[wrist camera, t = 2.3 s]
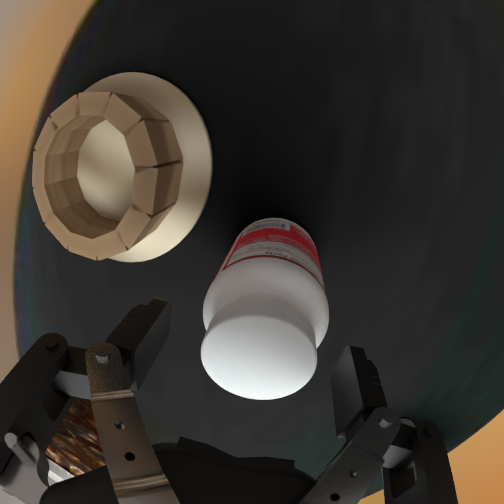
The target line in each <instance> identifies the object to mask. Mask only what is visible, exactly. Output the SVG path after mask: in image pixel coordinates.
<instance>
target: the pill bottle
mask: <svg viewBox="0 0 504 504" xmlns="http://www.w3.org/2000/svg"><path fill="white" fill-rule="evenodd" d="M203 319H204V324H205V328H206V334H205V337H204V339H203V342H202V346H201V359H202V363H203V365H204V368H205V370H206V372H207V373H208V374H209V376H210V377H211V378H212V379H213V380H214V381H215V382H216V383H217V384H218V385H219V386H221V387H222V388H224V389H225V390H227V391H229V392H231V393H233V394H236V395H239V396H242V397H246V398H251V399H259V400H265V399H276V398H281V397H284V396H287V395H290V394H292V393H294V392H296V391H297V390H299V389H300V388H302V387H303V386H304V385H305V384H306V383H307V382H308V381H309V380H310V379H311V377H312V375H313V374H314V371H315V369H316V365H317V347H318V346H319V345H320V343H321V342H322V340H323V338H324V336H325V334H326V331H327V328H328V322H329V309H328V301H327V296H326V291H325V286H324V282H323V277H322V272H321V267H320V263H319V258H318V254H317V250H316V247H315V244H314V242H313V240H312V239H311V237H310V235H309V234H308V233H307V232H306V231H305V230H304V229H303V228H302V227H300V226H299V225H297V224H296V223H294V222H291V221H289V220H286V219H281V218H266V219H262V220H259V221H256V222H254V223H252V224H250V225H249V226H247V227H246V228H245V229H244V230H243V231H242V232H241V233H240V234H239V236H238V237H237V238H236V240H235V242H234V243H233V245H232V247H231V249H230V251H229V253H228V255H227V256H226V258H225V260H224V262H223V264H222V266H221V267H220V269H219V271H218V273H217V274H216V276H215V278H214V280H213V281H212V283H211V285H210V287H209V290H208V292H207V295H206V297H205V301H204V306H203Z"/></svg>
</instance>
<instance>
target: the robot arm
mask: <svg viewBox="0 0 504 504" xmlns="http://www.w3.org/2000/svg"><path fill="white" fill-rule="evenodd" d="M170 314H171V302H170V301H167V300H163V299H160V298H157V297H154V298H153V299H152V300H151V302H150V303H149V304H148V306H146V305H143V304H140V305H138V306H136V307H135V308H133V309H131V311H130V312H129V313H128V314H127V315H126V317H125V318H124V319H123V320H122V322H121V323H120V324H119V325H118V326H117V327H116V329H115V330H114V331H113V332H112V333H111V335H110V336H109V337H108V338H107V340H106V341H105V342H97V343H94V344H92V345H90V346H89V347H88V348H87V349H83V348H77V347H71V346H68V344H67V340H66V339H65V338H64V337H63V336H62V335H60V334H57V333H48V334H45V335H43V336H41V337H40V338H39V339H38V340H37V341H36V342H35V343H34V344H33V346H32V347H31V348H30V349H29V350H28V351H27V352H26V354H25V355H24V356H23V357H22V358H21V359H20V360H19V362H18V363H17V364H16V365H15V366H14V368H13V369H12V370H11V371H10V372H9V374H8V375H7V376H6V377H5V379H4V380H3V381H2V382H1V384H0V488H1V489H2V490H3V491H5V492H6V493H8V494H10V495H12V496H15V497H17V498H18V499H19V500H21V501H22V502H24V503H25V504H357V503H358V502H359V501H360V499H361V498H362V496H363V495H364V494H365V492H366V491H367V489H368V488H369V486H370V485H371V483H372V482H373V480H374V479H375V477H376V476H377V474H378V473H379V471H380V469H381V468H382V471H383V483H384V497H385V504H458V501H457V495H456V490H455V485H454V481H453V476H452V472H451V467H450V463H449V459H448V455H447V451H446V448H445V444H444V440H443V437H442V433H441V431H440V429H439V428H438V426H437V425H435V424H434V423H432V422H430V421H422V422H421V423H419V424H418V425H417V426H416V427H413V426H410V425H406V424H403V423H401V421H400V418H399V416H398V415H397V413H396V412H395V411H393V410H391V409H389V408H388V407H387V403H386V399H385V396H384V392H383V389H382V385H381V382H380V378H379V375H378V372H377V368H376V367H375V366H374V364H373V363H372V362H371V360H367V359H366V356H365V352H364V349H363V348H360V347H354V346H346V347H345V349H344V350H343V352H342V354H341V356H340V358H339V360H338V362H337V363H336V365H335V367H334V369H333V371H332V375H331V386H332V395H333V404H334V414H335V424H336V435H337V437H338V438H346V443H345V444H344V445H343V446H342V448H341V449H340V450H339V451H338V452H337V454H336V455H335V456H334V457H333V458H332V460H331V461H330V462H329V463H328V464H327V465H326V466H325V467H324V469H323V470H322V471H321V472H320V473H319V474H318V475H317V476H316V477H315V478H314V479H313V478H312V477H311V476H309V475H308V474H306V473H305V472H303V471H301V470H298V469H296V468H294V460H287V459H279V458H272V457H248V458H238V457H234V456H232V455H230V454H227V453H225V452H223V451H221V450H219V449H217V448H215V447H213V446H210V445H208V444H205V443H201V442H198V441H194V440H191V439H187V438H184V437H181V436H180V438H179V441H178V443H158V444H153V445H151V442H150V440H149V437H148V434H147V432H146V429H145V426H144V424H143V421H142V418H141V415H140V412H139V409H138V406H137V403H136V400H135V397H134V394H133V392H132V391H131V390H130V388H131V389H133V390H136V391H138V389H139V387H140V386H141V384H142V382H143V380H144V378H145V377H146V375H147V373H148V371H149V369H150V368H151V366H152V364H153V362H154V361H155V359H156V357H157V355H158V354H159V352H160V350H161V348H162V347H163V345H164V343H165V341H166V339H167V337H168V333H169V327H170ZM77 397H79V398H84V399H90V400H91V404H92V409H93V414H94V419H95V423H96V428H97V432H98V436H99V440H100V444H101V447H102V451H103V455H104V458H105V461H106V465H104V466H101V467H99V468H96V469H94V470H91V471H88V472H86V473H83V474H80V475H78V476H75V477H72V478H69V479H66V480H63V481H60V482H57V483H55V484H53V485H51V486H49V484H48V473H49V468H50V467H49V462H48V459H47V457H46V456H45V455H44V454H45V452H46V450H47V448H48V446H49V444H50V443H51V441H52V439H53V437H54V435H55V434H56V432H57V430H58V428H59V427H60V425H61V423H62V421H63V420H64V418H65V416H66V414H67V413H68V411H69V409H70V408H71V406H72V404H73V403H74V401H75V399H76V398H77ZM414 465H415V470H416V476H417V479H416V483H415V476H414V470H413V466H414Z"/></svg>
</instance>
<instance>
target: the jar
mask: <svg viewBox="0 0 504 504" xmlns="http://www.w3.org/2000/svg"><path fill="white" fill-rule="evenodd" d="M44 455H45V456H46V457H47V459H48V462H49V467H50V468H49V473H48V476H49V477H51V478H52V479H53V480H55V481H56V482H60V481H63V480H66V479H69V478H72V477H75V476H78V475H80V474H83V473H86V472H88V471H91V470H94V469H96V468H99V467H101V466H104V465H106V461H105V458H104V455H103V451H102V447H101V444H100V440H99V436H98V432H97V428H96V423H95V419H94V414H93V409H92V404H91V400H90V399H84V398H79V397H77V398H76V399H75V401H74V403H73V404H72V406H71V408H70V409H69V411H68V413H67V414H66V416H65V418H64V420H63V421H62V423H61V425H60V427H59V428H58V430H57V432H56V434H55V435H54V437H53V439H52V441H51V443H50V444H49V446H48V448H47V450H46V452H45V454H44Z"/></svg>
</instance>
